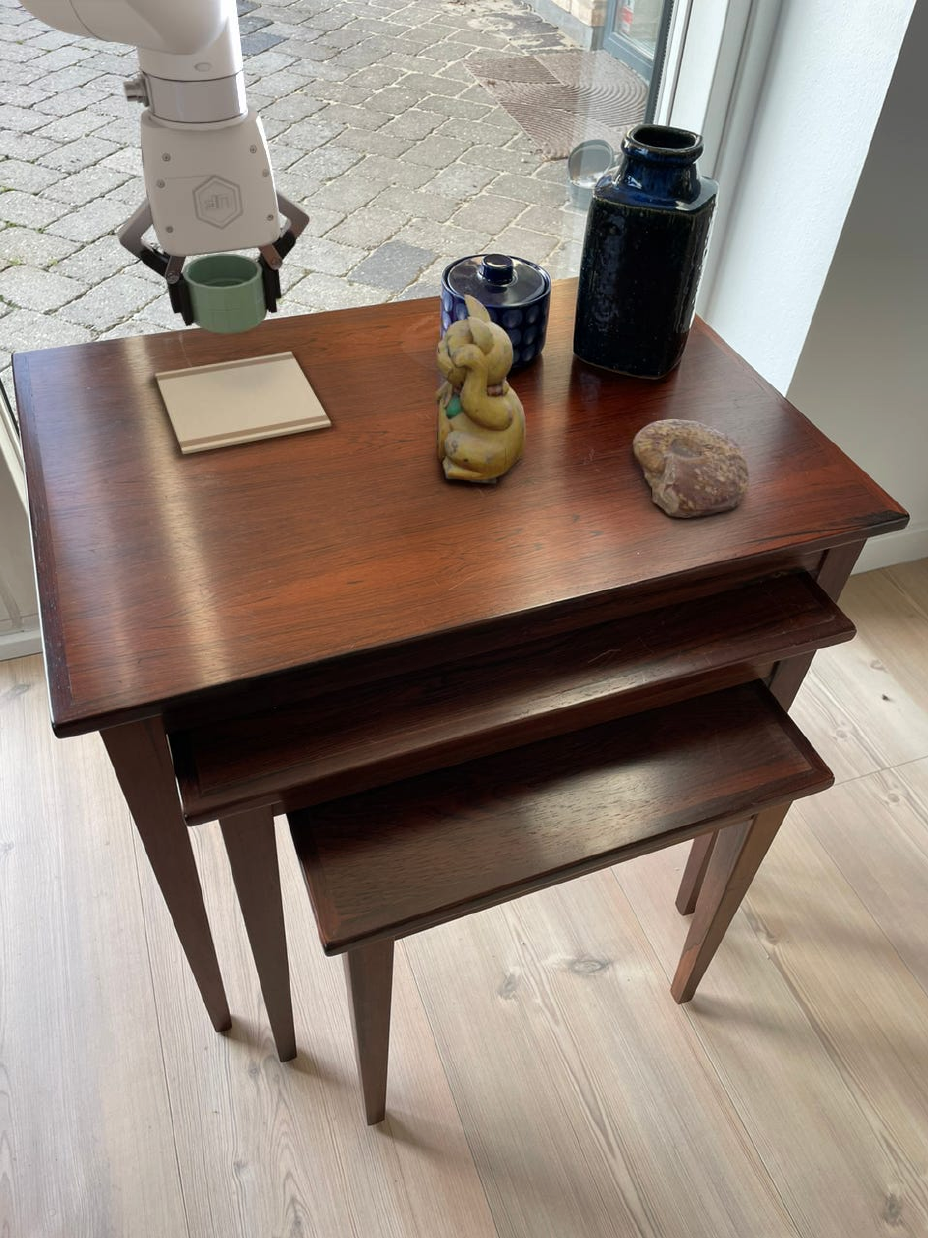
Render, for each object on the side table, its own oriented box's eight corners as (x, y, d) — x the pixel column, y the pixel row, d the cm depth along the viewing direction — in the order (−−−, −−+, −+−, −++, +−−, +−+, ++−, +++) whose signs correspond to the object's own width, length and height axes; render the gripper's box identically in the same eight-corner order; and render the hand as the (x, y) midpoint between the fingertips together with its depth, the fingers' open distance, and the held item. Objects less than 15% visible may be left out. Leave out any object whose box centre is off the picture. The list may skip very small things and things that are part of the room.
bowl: (199, 342, 79) (191, 293, 75) (184, 306, 83) (175, 258, 80) (275, 330, 81) (270, 282, 77) (257, 296, 85) (251, 249, 82)
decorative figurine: (428, 433, 86) (433, 282, 75) (513, 431, 87) (529, 281, 76) (439, 496, 79) (445, 340, 68) (530, 493, 80) (551, 339, 69)
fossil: (764, 517, 77) (668, 473, 74) (726, 553, 81) (633, 512, 77) (743, 425, 85) (656, 382, 82) (709, 461, 89) (625, 421, 86)
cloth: (183, 454, 81) (182, 450, 81) (155, 376, 90) (154, 373, 90) (331, 426, 86) (331, 422, 85) (291, 354, 94) (291, 351, 94)
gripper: (83, 119, 64) (137, 347, 76) (320, 100, 69) (333, 317, 82) (71, 86, 68) (123, 307, 81) (293, 71, 73) (309, 281, 86)
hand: (228, 310), depth 81 cm, fingers closed on bowl, 6 cm apart
